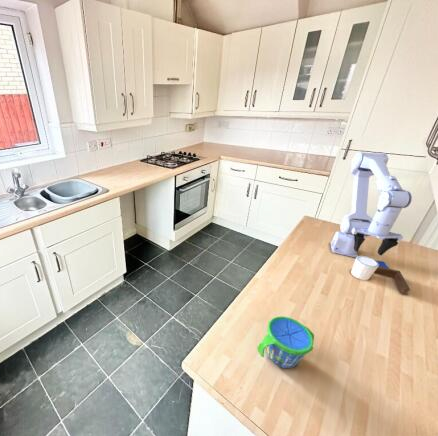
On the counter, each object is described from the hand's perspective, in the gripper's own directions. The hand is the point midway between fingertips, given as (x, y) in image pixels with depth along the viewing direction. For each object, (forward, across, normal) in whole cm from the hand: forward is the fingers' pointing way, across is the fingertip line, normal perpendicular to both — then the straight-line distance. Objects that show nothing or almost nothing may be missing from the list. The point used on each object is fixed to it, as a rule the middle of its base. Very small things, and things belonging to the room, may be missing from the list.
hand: (367, 251), depth 95 cm
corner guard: (+9, +8, -5) cm, 13 cm away
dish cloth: (+9, +7, +5) cm, 12 cm away
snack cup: (+9, -32, -51) cm, 61 cm away
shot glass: (+9, 0, -4) cm, 10 cm away
